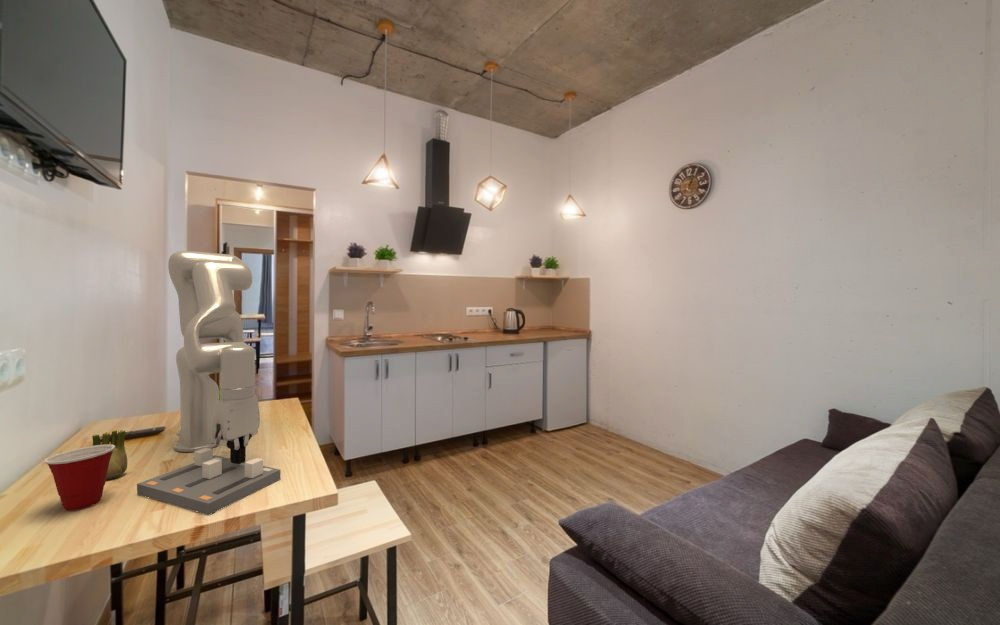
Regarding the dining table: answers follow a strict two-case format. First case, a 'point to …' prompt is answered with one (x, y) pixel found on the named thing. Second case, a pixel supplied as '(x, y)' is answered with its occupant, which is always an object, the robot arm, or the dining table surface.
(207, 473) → the switch
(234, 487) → the switch panel
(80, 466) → the plastic cup
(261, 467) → the right switch
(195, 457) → the left switch
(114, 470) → the fennel bulb
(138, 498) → the dining table surface
